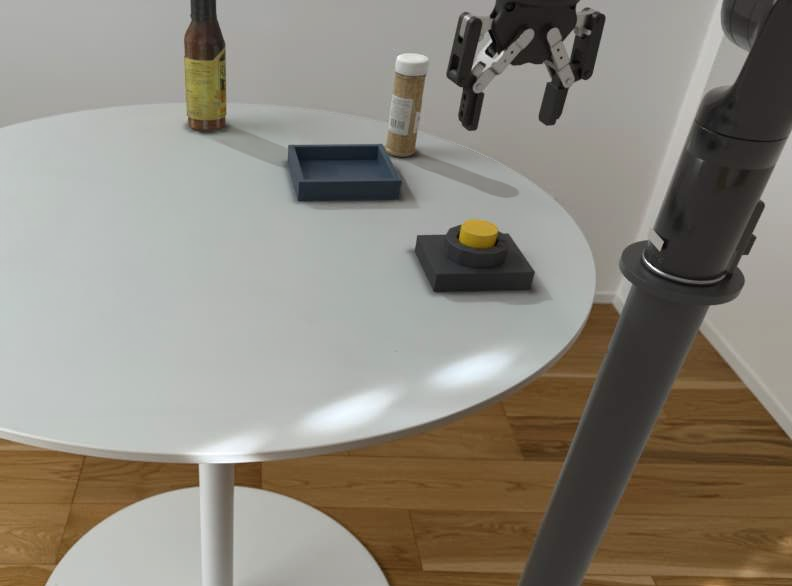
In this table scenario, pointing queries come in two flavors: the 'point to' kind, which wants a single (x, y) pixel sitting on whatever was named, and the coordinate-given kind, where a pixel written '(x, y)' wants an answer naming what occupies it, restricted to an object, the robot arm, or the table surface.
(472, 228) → the trigger button
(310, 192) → the tray
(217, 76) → the sauce bottle
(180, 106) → the table surface
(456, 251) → the button housing
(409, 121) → the spice jar
